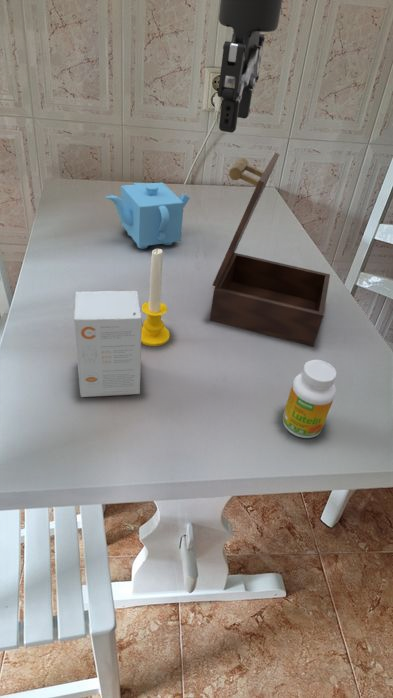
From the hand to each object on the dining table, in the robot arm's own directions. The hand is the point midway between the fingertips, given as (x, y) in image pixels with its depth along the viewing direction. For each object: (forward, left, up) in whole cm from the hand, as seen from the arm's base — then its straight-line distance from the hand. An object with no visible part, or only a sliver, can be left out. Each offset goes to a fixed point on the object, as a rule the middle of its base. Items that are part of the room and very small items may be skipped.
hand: (234, 123), depth 69 cm
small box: (+7, +27, -30) cm, 40 cm away
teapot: (+18, -16, -30) cm, 39 cm away
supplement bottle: (-20, +25, -30) cm, 43 cm away
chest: (-11, 0, -29) cm, 31 cm away
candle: (+5, +15, -30) cm, 33 cm away
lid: (-4, 0, -14) cm, 14 cm away
